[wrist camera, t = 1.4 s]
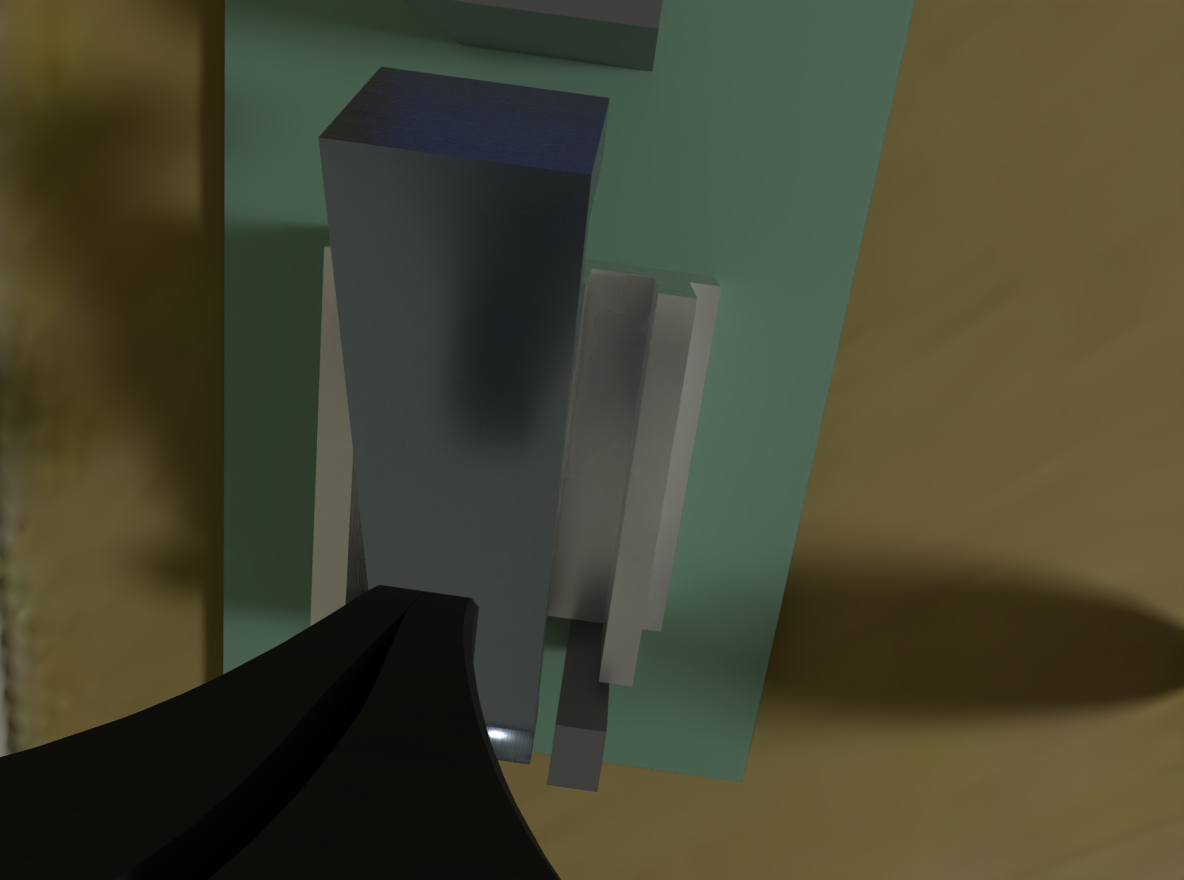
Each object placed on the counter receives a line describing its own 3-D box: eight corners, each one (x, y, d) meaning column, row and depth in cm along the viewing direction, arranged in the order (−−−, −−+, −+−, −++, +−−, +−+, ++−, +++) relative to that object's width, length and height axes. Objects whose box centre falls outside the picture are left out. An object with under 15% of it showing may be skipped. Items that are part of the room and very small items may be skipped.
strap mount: (606, 652, 22) (596, 805, 17) (381, 620, 22) (299, 762, 17) (708, -8, 17) (739, -87, 12) (424, -47, 18) (331, -142, 12)
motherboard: (738, 762, 24) (742, 782, 23) (236, 690, 24) (223, 707, 23) (915, -49, 18) (927, -58, 17) (242, -139, 18) (225, -153, 17)
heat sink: (659, 599, 22) (663, 690, 18) (341, 554, 22) (278, 635, 18) (714, 277, 19) (734, 303, 15) (357, 228, 19) (288, 241, 15)
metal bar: (546, 662, 19) (528, 775, 17) (414, 643, 19) (380, 754, 17) (609, 98, 11) (589, 186, 9) (380, 66, 11) (308, 147, 9)
